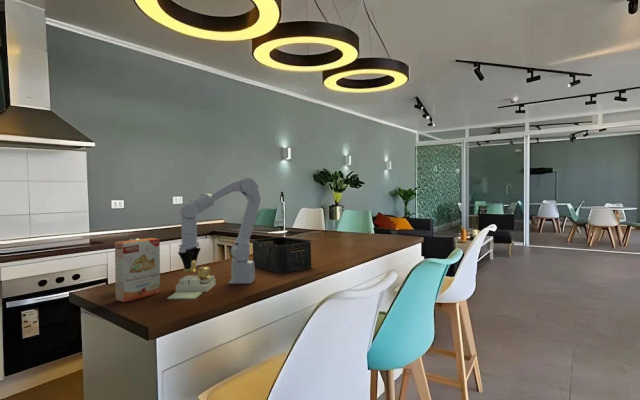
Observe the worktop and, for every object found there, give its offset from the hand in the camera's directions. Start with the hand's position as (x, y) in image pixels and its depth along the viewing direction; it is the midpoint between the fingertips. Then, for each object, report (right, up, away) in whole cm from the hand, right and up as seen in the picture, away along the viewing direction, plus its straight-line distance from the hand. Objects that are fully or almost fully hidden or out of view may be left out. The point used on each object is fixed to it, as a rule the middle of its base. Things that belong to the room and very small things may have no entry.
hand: (190, 267), depth 140 cm
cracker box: (-15, -9, -11) cm, 20 cm away
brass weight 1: (0, -1, 0) cm, 1 cm away
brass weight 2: (+6, -4, 0) cm, 7 cm away
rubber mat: (+2, -8, -11) cm, 14 cm away
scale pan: (+3, -6, 0) cm, 6 cm away
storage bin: (+32, -7, +37) cm, 50 cm away
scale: (+3, -8, -1) cm, 9 cm away
